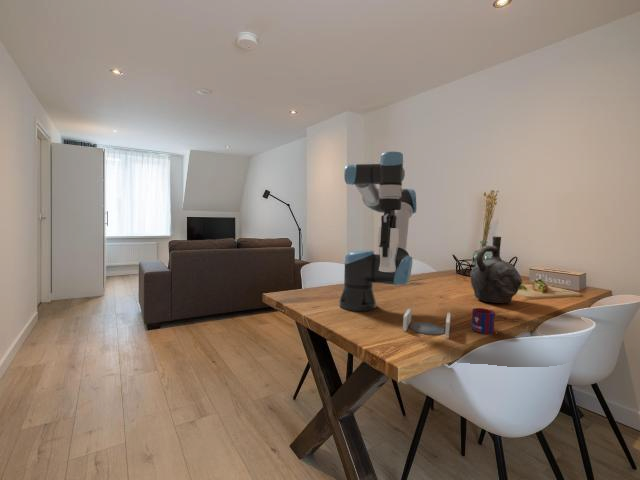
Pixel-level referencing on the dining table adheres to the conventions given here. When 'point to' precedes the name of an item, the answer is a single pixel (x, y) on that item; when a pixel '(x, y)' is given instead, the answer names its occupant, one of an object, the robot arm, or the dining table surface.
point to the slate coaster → (427, 328)
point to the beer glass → (393, 249)
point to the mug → (483, 320)
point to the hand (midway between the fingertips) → (387, 265)
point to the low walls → (408, 319)
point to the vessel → (494, 276)
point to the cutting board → (543, 291)
